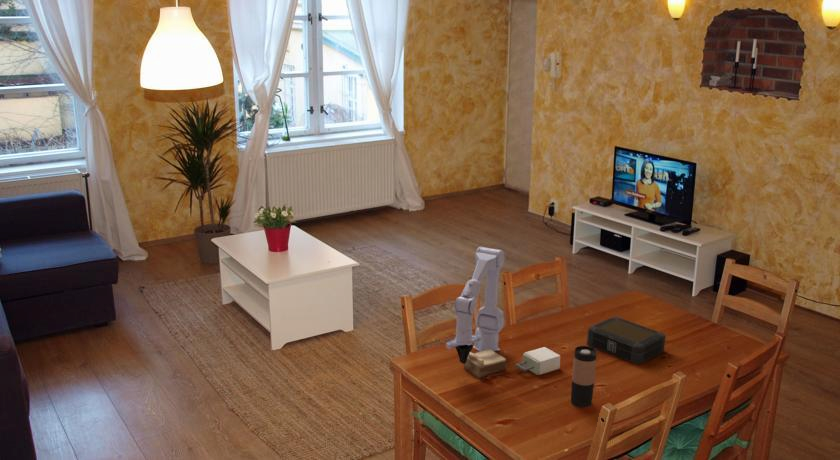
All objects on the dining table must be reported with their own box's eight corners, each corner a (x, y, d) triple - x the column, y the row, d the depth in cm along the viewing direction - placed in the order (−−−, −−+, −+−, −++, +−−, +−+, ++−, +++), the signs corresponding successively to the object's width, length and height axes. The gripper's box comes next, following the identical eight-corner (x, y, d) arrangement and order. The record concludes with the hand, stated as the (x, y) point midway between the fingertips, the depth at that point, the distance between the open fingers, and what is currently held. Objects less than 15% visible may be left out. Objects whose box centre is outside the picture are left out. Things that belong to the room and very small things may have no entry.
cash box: (584, 345, 332) (585, 327, 330) (613, 332, 345) (614, 315, 343) (637, 366, 315) (639, 348, 312) (665, 351, 328) (667, 334, 326)
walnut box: (463, 369, 308) (464, 358, 307) (488, 361, 315) (489, 351, 313) (479, 379, 300) (480, 368, 299) (505, 372, 307) (506, 360, 305)
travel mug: (567, 397, 289) (571, 345, 283) (588, 397, 290) (593, 345, 284) (573, 408, 282) (577, 355, 276) (594, 407, 282) (599, 355, 276)
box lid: (464, 357, 307) (464, 352, 306) (489, 350, 313) (489, 345, 313) (480, 368, 299) (480, 362, 298) (506, 360, 305) (506, 355, 305)
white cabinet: (523, 368, 310) (524, 352, 308) (543, 362, 316) (544, 346, 314) (539, 377, 303) (540, 361, 301) (559, 371, 308) (560, 355, 306)
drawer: (511, 371, 307) (512, 356, 305) (541, 362, 315) (542, 348, 313) (526, 380, 300) (527, 365, 298) (556, 371, 308) (557, 356, 306)
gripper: (454, 336, 289) (453, 371, 293) (486, 328, 297) (485, 362, 301) (443, 329, 295) (441, 363, 299) (475, 321, 303) (473, 354, 307)
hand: (462, 362), depth 300 cm, fingers closed
